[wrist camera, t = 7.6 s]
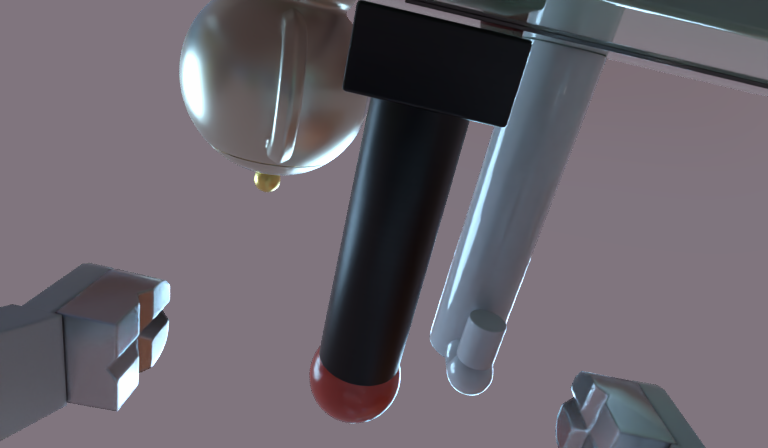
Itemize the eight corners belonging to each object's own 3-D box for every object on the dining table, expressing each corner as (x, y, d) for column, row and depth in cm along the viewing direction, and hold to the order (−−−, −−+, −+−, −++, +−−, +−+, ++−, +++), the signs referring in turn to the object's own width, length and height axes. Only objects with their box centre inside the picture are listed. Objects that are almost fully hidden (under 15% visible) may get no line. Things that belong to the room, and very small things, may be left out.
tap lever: (357, -2, 10) (278, 441, 15) (534, 41, 10) (398, 465, 15) (371, 6, 14) (305, 361, 19) (502, 38, 14) (401, 382, 19)
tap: (88, -333, 4) (107, 677, 10) (1961, 144, 4) (901, 829, 11) (344, -47, 19) (289, 293, 25) (774, 57, 19) (617, 364, 25)
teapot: (367, -8, 41) (334, 171, 47) (198, -51, 36) (187, 152, 43) (438, -9, 25) (374, 261, 31) (156, -86, 21) (147, 244, 27)
